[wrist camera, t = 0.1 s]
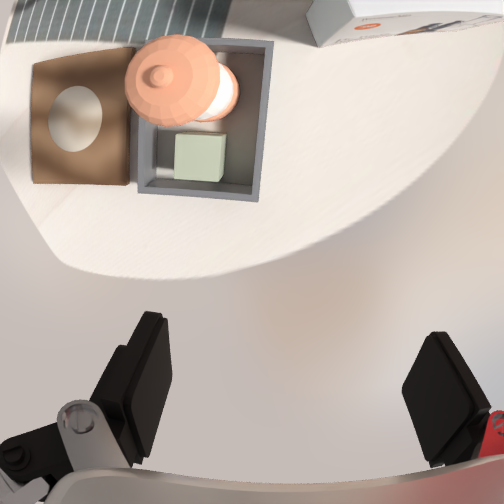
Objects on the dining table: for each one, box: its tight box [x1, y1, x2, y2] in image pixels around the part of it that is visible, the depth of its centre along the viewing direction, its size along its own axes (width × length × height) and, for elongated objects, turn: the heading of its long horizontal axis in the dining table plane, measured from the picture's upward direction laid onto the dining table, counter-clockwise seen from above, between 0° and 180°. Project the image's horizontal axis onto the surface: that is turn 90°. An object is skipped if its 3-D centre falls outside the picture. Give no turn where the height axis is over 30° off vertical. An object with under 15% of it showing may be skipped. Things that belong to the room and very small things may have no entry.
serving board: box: [31, 47, 135, 186], centre depth 36 cm, size 18×16×1 cm
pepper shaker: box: [125, 34, 240, 127], centre depth 26 cm, size 7×7×19 cm
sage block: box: [174, 131, 227, 182], centre depth 36 cm, size 5×5×5 cm
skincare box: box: [306, 0, 504, 48], centre depth 22 cm, size 21×6×16 cm, turn 108°
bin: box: [138, 38, 274, 202], centre depth 34 cm, size 18×14×4 cm
